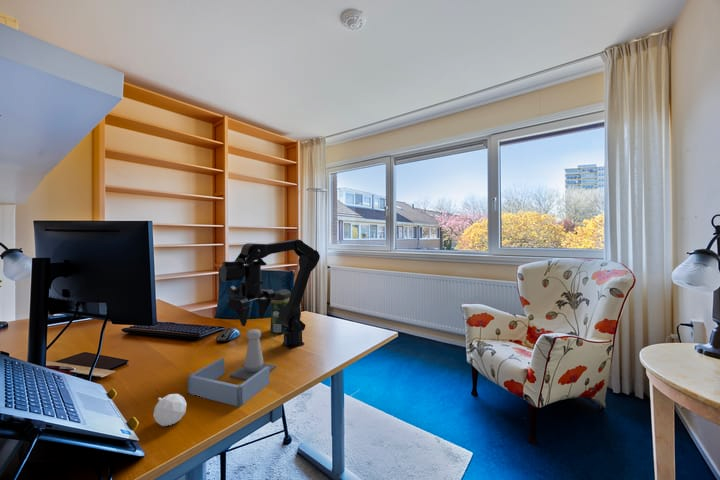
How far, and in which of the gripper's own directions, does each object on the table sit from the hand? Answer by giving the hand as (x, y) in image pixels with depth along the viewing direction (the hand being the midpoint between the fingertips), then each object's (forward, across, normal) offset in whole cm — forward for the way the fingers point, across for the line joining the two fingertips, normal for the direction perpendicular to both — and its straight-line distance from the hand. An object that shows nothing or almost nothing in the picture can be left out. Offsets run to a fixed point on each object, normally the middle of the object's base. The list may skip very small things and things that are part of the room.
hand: (252, 322), depth 105 cm
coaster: (+13, +8, +7) cm, 17 cm away
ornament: (+13, +36, +5) cm, 38 cm away
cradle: (+13, +18, +7) cm, 24 cm away
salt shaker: (+13, +8, +7) cm, 17 cm away
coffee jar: (+13, -28, -7) cm, 31 cm away
